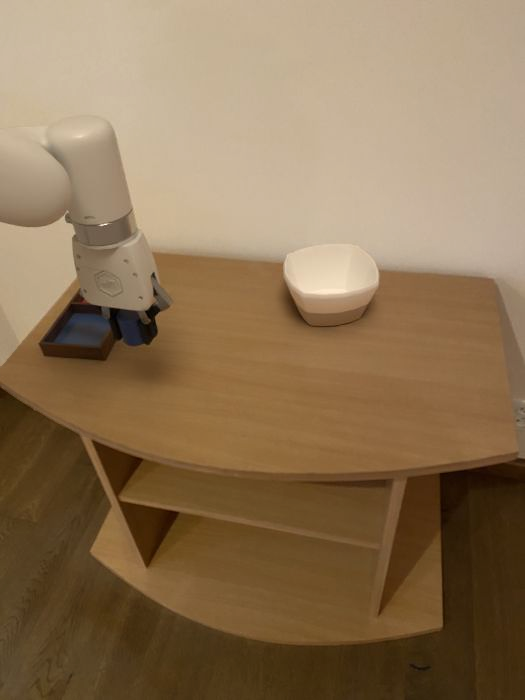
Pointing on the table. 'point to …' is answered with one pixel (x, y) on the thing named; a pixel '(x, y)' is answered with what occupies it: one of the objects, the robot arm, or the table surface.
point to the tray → (79, 332)
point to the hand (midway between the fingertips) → (136, 335)
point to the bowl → (331, 282)
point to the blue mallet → (130, 327)
